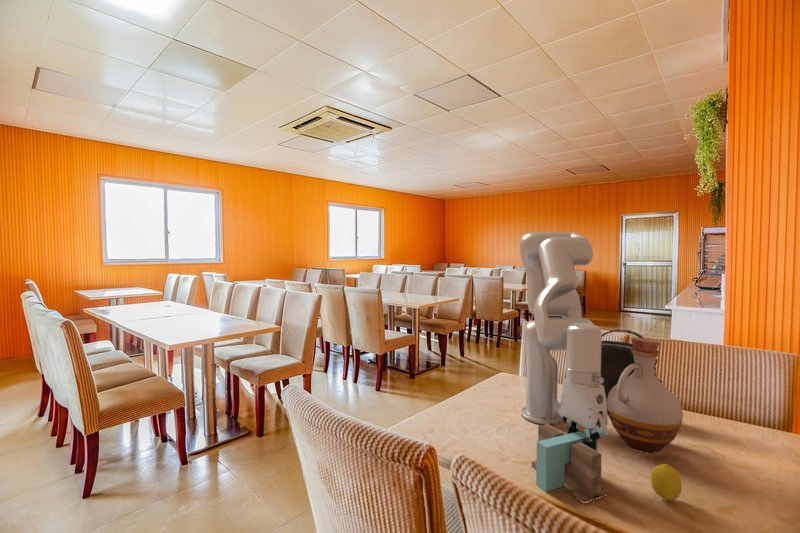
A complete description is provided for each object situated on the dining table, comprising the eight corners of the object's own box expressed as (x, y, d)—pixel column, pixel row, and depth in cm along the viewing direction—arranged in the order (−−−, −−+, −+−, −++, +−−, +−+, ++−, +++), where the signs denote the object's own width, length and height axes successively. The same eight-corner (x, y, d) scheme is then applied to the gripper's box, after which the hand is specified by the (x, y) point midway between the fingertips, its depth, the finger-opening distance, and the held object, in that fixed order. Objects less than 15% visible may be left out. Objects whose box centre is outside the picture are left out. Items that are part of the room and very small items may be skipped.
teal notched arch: (587, 469, 98) (587, 429, 97) (597, 476, 95) (598, 434, 94) (536, 484, 91) (536, 441, 91) (545, 492, 89) (546, 447, 88)
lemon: (644, 493, 88) (645, 458, 88) (667, 491, 89) (668, 457, 88) (663, 509, 83) (664, 472, 82) (687, 507, 83) (689, 470, 83)
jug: (649, 471, 97) (653, 350, 95) (587, 439, 113) (589, 336, 111) (696, 454, 105) (700, 342, 104) (632, 426, 121) (634, 330, 120)
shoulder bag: (662, 416, 129) (665, 331, 127) (661, 426, 121) (663, 336, 120) (587, 400, 142) (589, 323, 141) (582, 409, 135) (583, 327, 134)
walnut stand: (552, 460, 102) (553, 422, 101) (607, 496, 87) (608, 451, 87) (531, 466, 99) (532, 427, 99) (583, 504, 84) (584, 458, 84)
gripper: (626, 385, 88) (624, 465, 88) (567, 364, 103) (566, 433, 104) (602, 389, 85) (600, 472, 85) (545, 368, 100) (543, 438, 101)
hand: (581, 450), depth 95 cm, fingers open, 4 cm apart
